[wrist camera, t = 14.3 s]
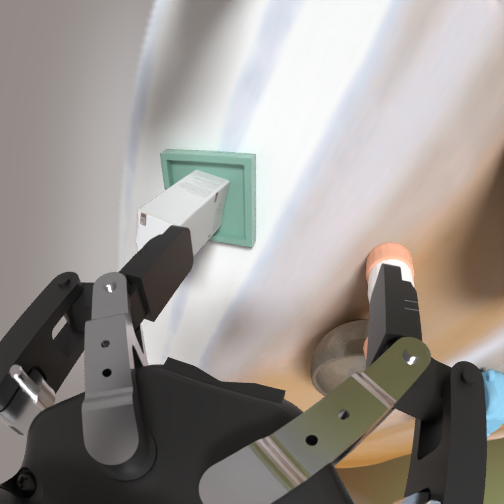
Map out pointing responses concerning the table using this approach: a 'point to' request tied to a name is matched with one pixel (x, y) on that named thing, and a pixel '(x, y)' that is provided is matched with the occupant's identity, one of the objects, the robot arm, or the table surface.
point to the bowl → (339, 355)
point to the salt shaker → (387, 255)
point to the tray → (239, 192)
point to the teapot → (494, 399)
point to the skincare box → (185, 209)
